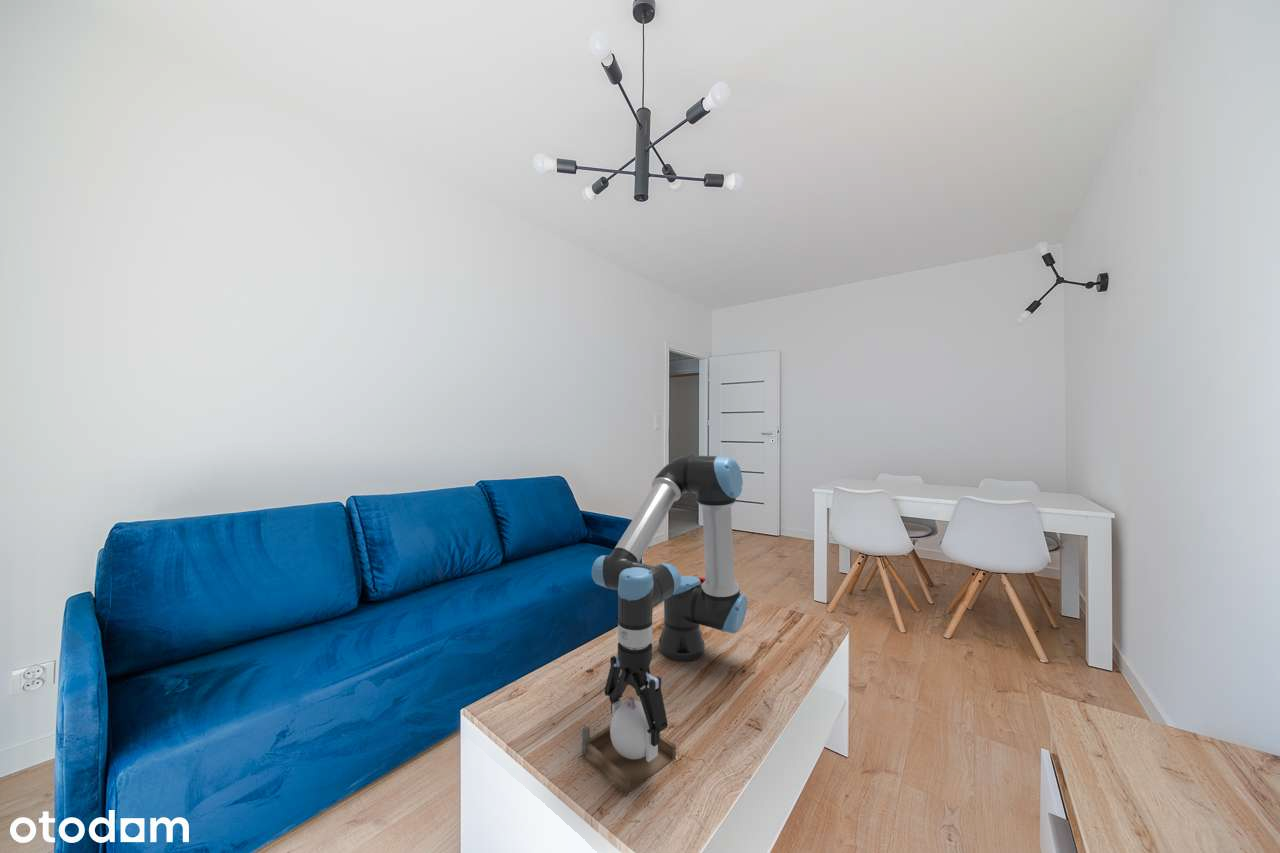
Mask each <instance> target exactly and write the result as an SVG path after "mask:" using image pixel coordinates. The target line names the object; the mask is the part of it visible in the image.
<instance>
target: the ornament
mask: <svg viewBox="0 0 1280 853" xmlns="http://www.w3.org/2000/svg"><path fill="white" fill-rule="evenodd" d="M653 723H654V722H653ZM609 726H610V736H611V741H612V744H613V746H614V748H615V749H616V751H617V752H618V753H619V754H620V755H622V756H623V757H625V758H628V759H640V758H643V757H644V756H646V729H647V728H648V727H649V726H648V722H647V719H646V716H645V713H644V710H643V707H642V703H641V700H640V701H639V700H635V698H634V697H633V696H629V697H628V698H627V700H626V701H625V702H623V704H622V705H621V706H620V707H619V708H618V709H617V710H616V711H615V713H614V715H613V718H612V717H611V722H610V725H609Z"/></svg>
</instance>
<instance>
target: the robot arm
mask: <svg viewBox="0 0 1280 853" xmlns="http://www.w3.org/2000/svg"><path fill="white" fill-rule="evenodd" d="M741 470H742V469H741V467H740V465H739V463H738V462H737V460H735V459H733V457H726V456H721V455H693V454H687V455H681V456H680V457H678V458H675V459H674V460H672V461H670V462H669V463H668V464H666V465H665V466H664V467H662V468H661V470H660V471H659V472H658V473H657V474H656V475H655V477H654V479H653V480H652V482H651V487H652V488H651V490H650V491H649V493H648V494H647V496H646V498H645V499H644V501H643V503H642V504H641V506H640V507H639V509H638V511H637V512H636V513H635V515H634V516H633V518H632V520H631V522H629V524H628V526H627V528H626V530H625V531H624V533H623V534H622V536H621V537H620V539H619V540H618V542H617V544H616V545H615V547H614V548H613V550H612V552H611V553H610V554H609V555H603V554H602V555H600V556H598V557H597V558H596V559H595V560H594V562H593V564H592V567H591V578H592V579H593V582H594V583H595V584H596V585H597V586H601V587H603V588H606V589H608V590H610V589H611V590H614V591H617V600H618V602H617V604H618V607H617V608H618V619H617V625H618V626H617V642H618V643H617V654H615V655H613V656H611V657H610V659H609V660H610V661H609V663H610V667H609V672H608V676H607V679H606V684H605V687H604V695H605V696H608V698H609V701H610V714H611V719H612V718H613V715H614V713H615V711H616V710H617V709H618V708H619V707H620V706H621V705H622V704H624V699H622V698H623V697H624V695H623V694H624V692H625V690H626V689H627V686H631V688H633V689H634V690H635V693H636V694H635V695H636V696H637V697H639V699H640V702H641V703H642V707H643V710H644V713H645V716H646V719H647V722H648V726H649V727H648V728H647V729H646V761H648V762H650V761H651V760H652V759H654V758H655V757H656V756H658V744H659V742H660V734H661V732H663V731H664V730H666V729H667V728H668V727H669V724H668V719H667V718H668V717H667V714H666V713H667V712H666V707H665V703H664V697H663V693H662V678H661V677H660V676H659V675H658V676H656V677H655V676H653V675H652V674H651V670H650V665H651V663H652V660H653V643H652V642H653V610H654V609H653V608H655V607H656V606H658V605H659V604H661V603H663V605H664V606H663V607H664V608H663V627H662V630H661V633H660V637H659V639H658V652H659V653H660V654H661V655H662V656H663V658H666V659H667V660H671V661H676V662H679V663H680V662H681V663H682V662H684V663H687V662H693V661H696V660H699V659H701V658H702V657H703V656H704V655H705V651H706V649H705V647H706V646H705V641H704V639H703V636H702V631H701V626H704V627H707V628H712V629H714V630H718V631H721V632H722V633H729V634H737V632H739V630H741V628H742V626H743V625H744V624H743V623H744V622H745V618H746V615H747V610H748V598H747V595H746V594H744V593H741V587H740V584H739V583H738V582H737V581H736V580H735V566H734V565H735V564H734V563H735V562H734V545H733V544H734V543H733V527H732V526H733V521H732V520H733V518H732V506H734V504H735V503H736V501H737V498H738V497H740V496H741V494H742V491H743V487H742V486H743V483H744V482H743V474H742V471H741ZM683 494H693V495H694V494H695V495H696V503H697V504H698V505H699V506H700V507H702V508H701V509H702V526H703V527H702V528H703V545H704V547H703V548H704V565H705V579H706V581H704V582H703V584H702V585H700V584H701V582H700V579H699V578H700V577H697V576H694V575H681V574H680V572H679V570H678V569H677V567H675V566H674V565H673V564H671V563H667V562H666V563H665V562H664V563H659V564H658V565H656V566H654V565H651V564H646V563H642V562H641V560H642V558H643V557H644V555H645V553H646V552H647V549H648V548H649V546H650V544H651V542H652V541H653V539H654V537H655V535H656V534H657V532H658V530H659V529H660V527H661V525H662V523H663V521H664V519H665V518H666V516H667V515H668V513H669V511H670V509H671V507H672V506H673V504H674V502H677V501H680V498H681V497H682V495H683ZM640 562H641V563H640ZM700 625H701V626H700ZM643 687H644V688H643ZM653 722H654V723H653Z"/></svg>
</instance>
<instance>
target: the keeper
mask: <svg viewBox="0 0 1280 853" xmlns="http://www.w3.org/2000/svg"><path fill="white" fill-rule="evenodd" d="M610 726H611V725H609V726H607V727H605V728H604V729H602V730H600V731H599V732H597V733H596V734H594V735H593V736H590V735H591V734H590V732H591V729H590V726H587V725H586V726H583V727H582V732H581V733H582V736H581V737H582V738H581V739H582V743H581V744H582V745H581V748H582V749H581V752H582V753H581V756H582V757H583V758H586V759H587V760H588V761H589V762H590V763H591V765H593V766H594V767H595V768H596V769H597V770H598V771H599V770H600V771H601V772H602V773H603V774H604V775H605V778H606V779H608V778H609V779H610V780H611V781H612V782H613V783H614V784H615V785H616V786H617V787H618V788H620V789H621V791H622V792H623V793H624V794H626V795H628V794H629V793H630V792H631V793H633V792H634V791H635V790H636V788H637V787H638V788H639V787H640V786H642V785H643V784H644V783H646V782H647V781H648V780H649V779H648V778H650V777H651V776H652V777H654V776H655V775H656V774H657V773H659V772H660V771H661V770H663V769H664V768H665V767H666V766H668V765H669V764H670V763H671V762H673V761H674V760H675V759H676V756H677V753H676V752H677V751H676V748H677V746H676V744H675V743H674V742H672V741H670V740H669V739H668V738H666V737H665V736H664V735H662V734H661V733H660V742H659V744H658V756H656V757H655V758H654V759H652V760H651V761H650V762H648V761H646V756H644V757H643V758H640V759H628V758H625V757H623V756H622V755H620V754H619V753H618V752H617V751H616V749H615V748H614V746H613V744H612V741H611V736H610ZM600 771H599V772H600ZM601 772H600V773H601ZM602 773H601V774H602ZM655 773H656V774H655ZM603 774H602V775H603ZM654 774H655V775H654ZM604 775H603V776H604ZM652 777H651V778H652ZM651 778H650V779H651ZM609 779H608V780H609ZM647 779H648V780H647ZM610 780H609V781H610ZM646 780H647V781H646ZM611 781H610V782H611ZM645 781H646V782H645ZM612 782H611V783H612ZM613 783H612V784H613ZM642 783H643V784H642ZM614 784H613V785H614ZM641 784H642V785H641ZM615 785H614V786H615ZM616 786H615V787H616ZM617 787H616V788H617ZM618 788H617V789H618ZM638 788H637V789H638ZM634 789H635V790H634ZM633 790H634V791H633ZM621 791H620V792H621ZM632 791H633V792H632ZM622 792H621V793H622ZM623 793H622V794H623ZM631 793H630V794H631ZM624 794H623V795H624ZM630 794H629V795H630ZM629 795H628V796H629Z"/></svg>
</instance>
